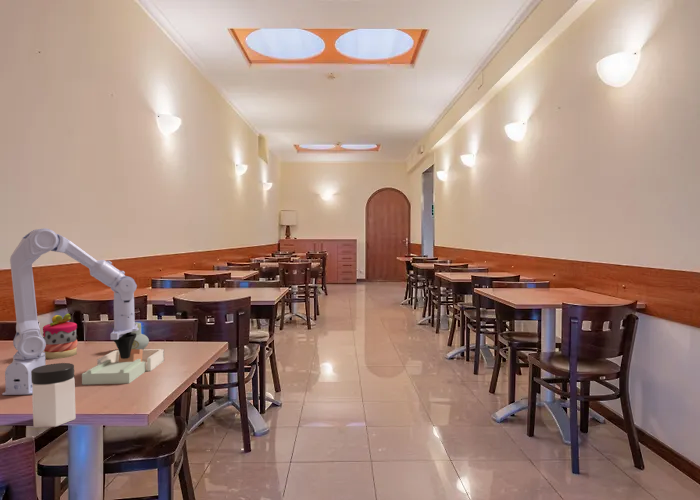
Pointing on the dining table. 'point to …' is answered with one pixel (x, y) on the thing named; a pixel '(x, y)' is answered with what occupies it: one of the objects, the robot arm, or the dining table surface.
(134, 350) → the tile
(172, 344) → the dining table surface
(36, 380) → the jar
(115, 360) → the box
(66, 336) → the cake
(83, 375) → the two-ridged green plate
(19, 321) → the robot arm
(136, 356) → the tile
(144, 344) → the air freshener
